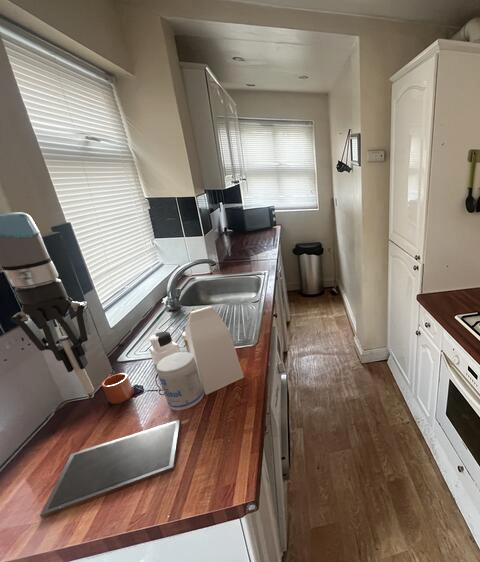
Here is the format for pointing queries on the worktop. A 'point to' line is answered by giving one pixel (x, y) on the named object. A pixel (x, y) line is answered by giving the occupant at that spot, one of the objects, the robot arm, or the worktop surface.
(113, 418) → the worktop surface
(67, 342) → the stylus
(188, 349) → the sprinkles bottle
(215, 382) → the milk
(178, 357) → the supplement tub
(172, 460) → the tablet
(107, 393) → the pen cup
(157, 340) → the medicine bottle
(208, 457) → the worktop surface
